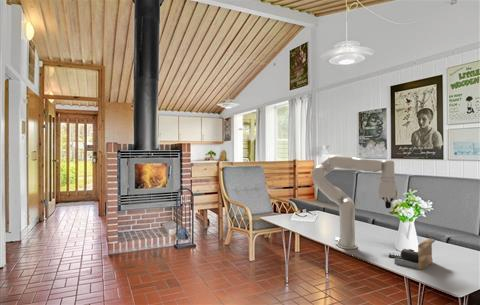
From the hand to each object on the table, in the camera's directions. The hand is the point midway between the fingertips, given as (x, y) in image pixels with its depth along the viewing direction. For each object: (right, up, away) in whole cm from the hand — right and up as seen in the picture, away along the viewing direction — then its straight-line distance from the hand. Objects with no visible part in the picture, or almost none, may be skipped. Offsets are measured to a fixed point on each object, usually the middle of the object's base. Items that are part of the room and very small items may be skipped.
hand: (388, 208), depth 194 cm
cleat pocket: (+2, -27, -22) cm, 35 cm away
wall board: (+7, -27, -27) cm, 39 cm away
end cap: (+3, -27, -23) cm, 36 cm away
